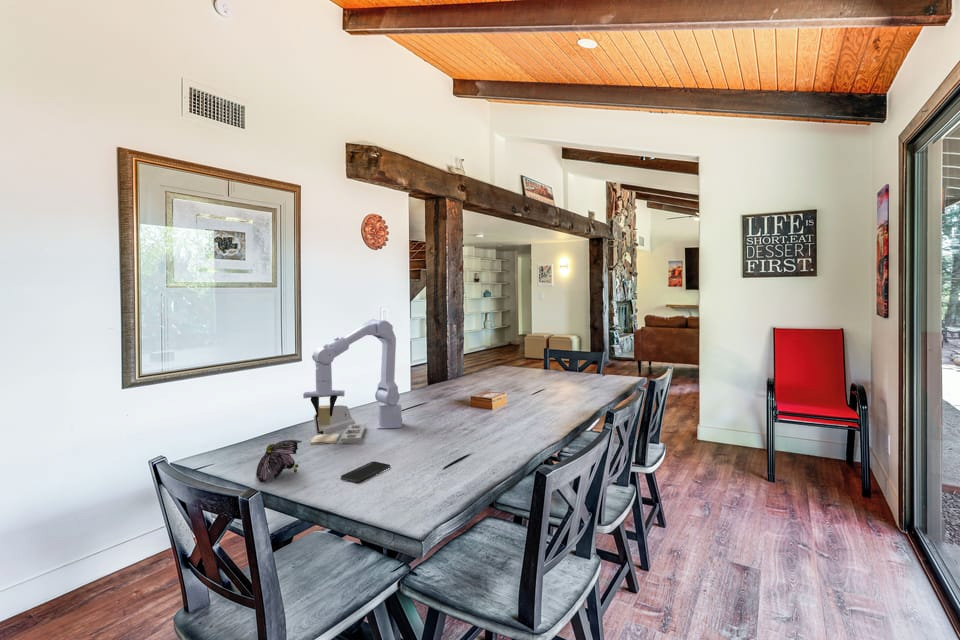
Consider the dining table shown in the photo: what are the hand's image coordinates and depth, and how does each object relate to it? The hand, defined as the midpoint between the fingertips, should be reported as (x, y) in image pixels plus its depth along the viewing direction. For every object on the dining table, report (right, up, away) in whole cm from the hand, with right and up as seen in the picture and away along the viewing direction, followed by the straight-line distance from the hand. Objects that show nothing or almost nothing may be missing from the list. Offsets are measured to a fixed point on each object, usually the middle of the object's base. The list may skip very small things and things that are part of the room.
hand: (324, 416), depth 185 cm
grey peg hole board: (+10, -9, +5) cm, 14 cm away
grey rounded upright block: (-2, -8, +17) cm, 19 cm away
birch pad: (0, -9, +1) cm, 9 cm away
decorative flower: (-3, -12, -33) cm, 35 cm away
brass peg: (0, -3, 0) cm, 3 cm away
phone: (+23, -12, -32) cm, 41 cm away
